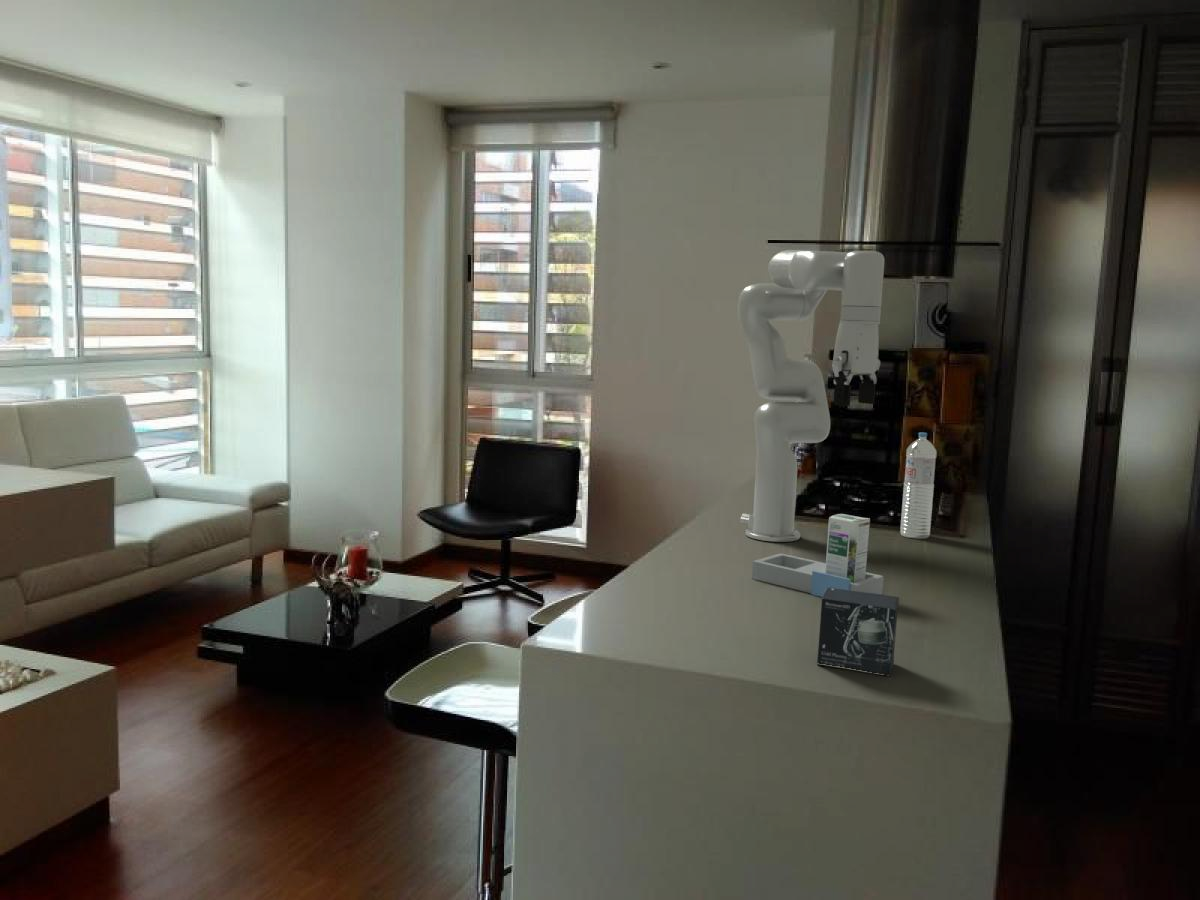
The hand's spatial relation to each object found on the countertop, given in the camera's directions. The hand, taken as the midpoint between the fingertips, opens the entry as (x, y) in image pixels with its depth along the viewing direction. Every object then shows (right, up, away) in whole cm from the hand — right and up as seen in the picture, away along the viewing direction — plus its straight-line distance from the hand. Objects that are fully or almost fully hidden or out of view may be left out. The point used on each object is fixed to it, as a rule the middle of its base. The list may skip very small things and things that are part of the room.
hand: (854, 404), depth 188 cm
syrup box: (-4, -36, -8) cm, 37 cm away
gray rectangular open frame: (-9, -35, -5) cm, 36 cm away
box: (-12, -41, -46) cm, 63 cm away
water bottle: (+26, -30, +42) cm, 58 cm away
